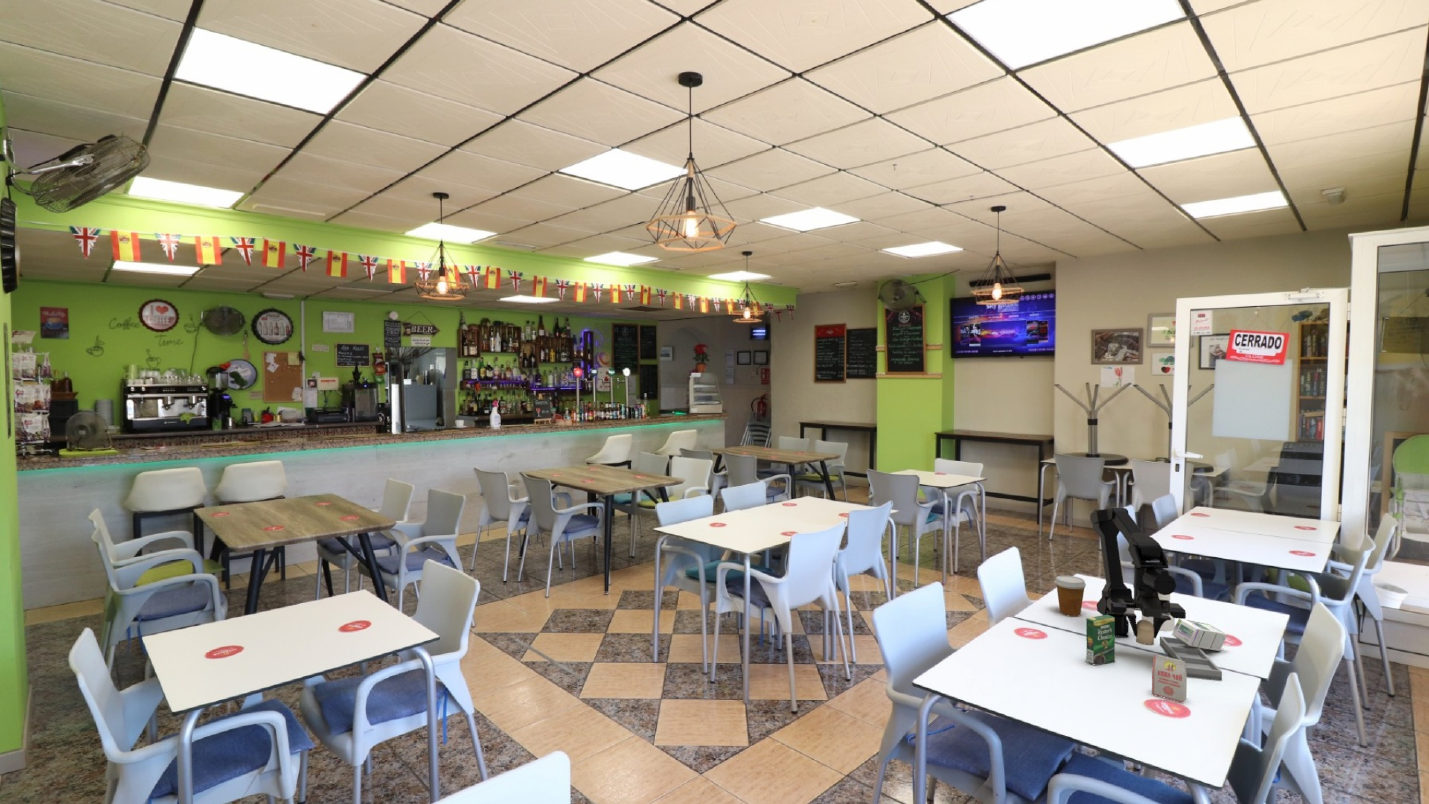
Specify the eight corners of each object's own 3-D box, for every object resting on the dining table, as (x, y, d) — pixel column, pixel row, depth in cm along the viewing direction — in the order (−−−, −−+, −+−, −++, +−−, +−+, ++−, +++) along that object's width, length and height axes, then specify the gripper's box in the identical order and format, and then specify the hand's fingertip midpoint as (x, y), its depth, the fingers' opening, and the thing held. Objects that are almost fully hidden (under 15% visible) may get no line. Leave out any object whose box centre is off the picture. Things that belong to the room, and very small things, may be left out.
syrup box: (1228, 634, 200) (1197, 627, 194) (1220, 652, 200) (1189, 645, 195) (1209, 624, 205) (1178, 617, 199) (1201, 641, 205) (1170, 635, 200)
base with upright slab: (1136, 620, 226) (1137, 585, 226) (1165, 621, 225) (1166, 586, 224) (1150, 630, 217) (1150, 593, 217) (1180, 631, 216) (1180, 594, 215)
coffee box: (1093, 666, 191) (1093, 620, 190) (1085, 662, 194) (1085, 617, 193) (1115, 662, 193) (1116, 617, 193) (1107, 658, 196) (1107, 614, 196)
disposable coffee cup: (1060, 617, 230) (1060, 582, 229) (1050, 608, 239) (1051, 574, 239) (1090, 618, 228) (1090, 583, 228) (1079, 609, 237) (1080, 575, 237)
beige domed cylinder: (1138, 644, 195) (1138, 621, 195) (1134, 638, 199) (1134, 616, 199) (1155, 646, 194) (1156, 623, 194) (1151, 640, 198) (1151, 618, 198)
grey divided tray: (1186, 676, 184) (1186, 667, 184) (1159, 644, 206) (1159, 636, 206) (1221, 680, 181) (1221, 671, 181) (1191, 647, 203) (1191, 639, 203)
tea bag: (1155, 689, 176) (1155, 652, 176) (1186, 698, 172) (1186, 659, 171) (1151, 694, 174) (1152, 656, 173) (1183, 703, 169) (1183, 663, 169)
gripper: (1115, 589, 191) (1115, 643, 192) (1192, 595, 185) (1192, 651, 186) (1106, 578, 202) (1106, 629, 203) (1179, 583, 196) (1178, 636, 197)
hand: (1144, 637), depth 197 cm, fingers closed on beige domed cylinder, 4 cm apart
